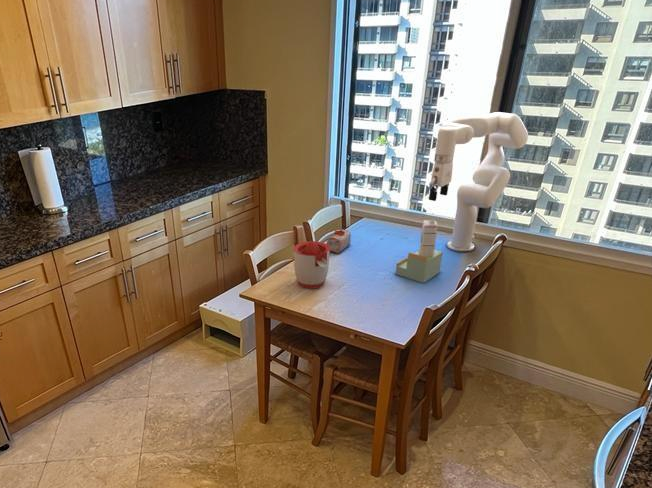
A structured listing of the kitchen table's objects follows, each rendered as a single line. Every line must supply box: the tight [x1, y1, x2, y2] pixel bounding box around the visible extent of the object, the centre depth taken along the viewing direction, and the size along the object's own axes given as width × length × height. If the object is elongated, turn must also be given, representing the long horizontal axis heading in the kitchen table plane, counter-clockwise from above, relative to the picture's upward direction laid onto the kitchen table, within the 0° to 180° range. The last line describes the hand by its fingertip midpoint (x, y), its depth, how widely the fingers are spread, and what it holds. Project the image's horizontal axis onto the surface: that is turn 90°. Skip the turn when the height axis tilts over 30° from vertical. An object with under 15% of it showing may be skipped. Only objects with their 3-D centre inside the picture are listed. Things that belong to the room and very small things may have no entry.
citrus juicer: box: [293, 240, 330, 289], centre depth 223 cm, size 16×17×20 cm
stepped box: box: [395, 249, 444, 284], centre depth 229 cm, size 14×14×12 cm
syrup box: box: [418, 219, 439, 256], centre depth 222 cm, size 6×6×14 cm
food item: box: [326, 229, 352, 255], centre depth 258 cm, size 14×8×10 cm, turn 144°
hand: (437, 197), depth 228 cm, fingers open, 9 cm apart
